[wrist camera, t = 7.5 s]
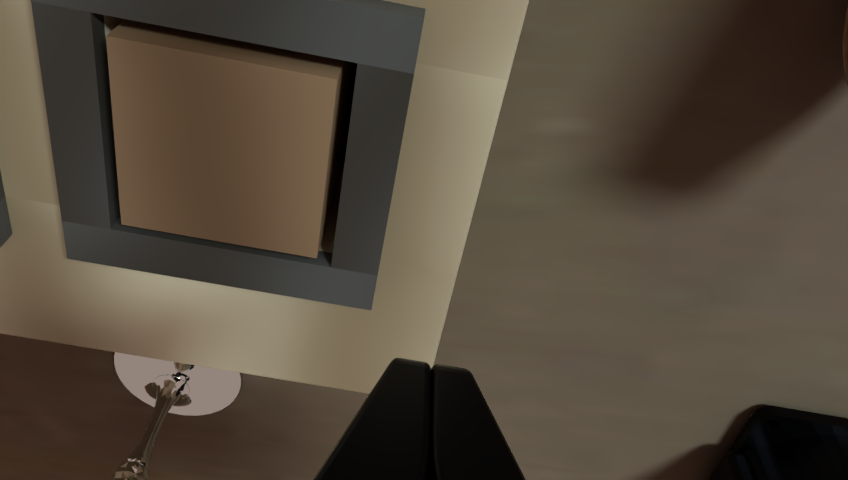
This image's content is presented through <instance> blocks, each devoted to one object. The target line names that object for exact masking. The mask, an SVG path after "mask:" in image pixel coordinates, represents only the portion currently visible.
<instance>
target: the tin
mask: <svg viewBox="0 0 848 480" xmlns="http://www.w3.org/2000/svg"><path fill="white" fill-rule="evenodd" d="M843 65H844V71H845V77H846V80H847V83H848V6H847V10H846V16H845V24H844V32H843Z"/></svg>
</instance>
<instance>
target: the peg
mask: <svg viewBox="0 0 848 480" xmlns="http://www.w3.org/2000/svg"><path fill="white" fill-rule="evenodd" d="M106 43H107V55H108V67H109V79H110V92H111V104H112V116H113V128H114V141H115V153H116V165H117V177H118V189H119V202H120V214H121V225H127V226H133V227H139V228H144V229H150V230H156V231H162V232H167V233H173V234H179V235H185V236H190V237H196V238H202V239H208V240H214V241H219V242H225V243H231V244H237V245H242V246H248V247H254V248H260V249H265V250H271V251H277V252H283V253H288V254H294V255H300V256H306V257H311V258H317V256H318V252H319V249H320V245H321V242H322V238H323V235H324V231H325V228H326V225H327V221H328V218H329V214H330V211H331V207H332V204H333V200H334V197H335V193H336V190H337V186H338V183H339V179H340V176H341V172H342V169H343V166H344V162H345V156H346V148H347V140H348V133H349V125H350V118H351V110H352V102H353V95H354V87H355V79H356V72H357V64H358V63H354V62H349V61H343V60H338V59H333V58H328V57H322V56H317V55H312V54H307V53H301V52H296V51H291V50H286V49H280V48H275V47H270V46H265V45H259V44H254V43H249V42H244V41H238V40H233V39H228V38H223V37H217V36H212V35H207V34H201V33H196V32H191V31H186V30H180V29H175V28H170V27H165V26H159V25H154V24H149V23H144V22H138V21H133V20H128V19H125V20H124V21H123V22H121V23H120V24H119V25H118V26H117V27H116V28H114V29H113V30H112V31H111V32H110V33H109V34H108V35H106Z"/></svg>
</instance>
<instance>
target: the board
mask: <svg viewBox="0 0 848 480" xmlns="http://www.w3.org/2000/svg"><path fill="white" fill-rule="evenodd" d="M528 3H529V0H0V333H1V334H7V335H13V336H19V337H25V338H31V339H37V340H44V341H50V342H56V343H62V344H68V345H74V346H80V347H86V348H93V349H99V350H105V351H111V352H117V353H123V354H129V355H135V356H141V357H148V358H154V359H160V360H166V361H172V362H178V363H184V364H190V365H197V366H203V367H209V368H215V369H221V370H227V371H233V372H239V373H246V374H252V375H258V376H264V377H270V378H276V379H282V380H288V381H295V382H301V383H307V384H313V385H319V386H325V387H331V388H337V389H344V390H350V391H356V392H362V393H368V394H370V393H371V391H372V389H373V388H374V386H375V385H376V383H377V382H378V380H379V379H380V377H381V376H382V374H383V373H384V371H385V370H386V368H387V367H388V365H389V364H390V362H391V361H392V360H393V359H395V358H404V359H410V360H416V361H422V362H426V363H428V364H429V365H430V368H432V367H433V364H434V360H435V356H436V352H437V349H438V345H439V341H440V337H441V333H442V329H443V326H444V322H445V318H446V314H447V310H448V307H449V303H450V299H451V295H452V291H453V288H454V284H455V280H456V276H457V272H458V269H459V265H460V261H461V257H462V253H463V250H464V246H465V242H466V238H467V234H468V231H469V227H470V223H471V219H472V215H473V212H474V208H475V204H476V200H477V196H478V193H479V189H480V185H481V181H482V177H483V174H484V170H485V166H486V162H487V158H488V155H489V151H490V147H491V143H492V139H493V136H494V132H495V128H496V124H497V120H498V117H499V113H500V109H501V105H502V101H503V98H504V94H505V90H506V86H507V82H508V79H509V75H510V71H511V67H512V63H513V60H514V56H515V52H516V48H517V44H518V41H519V37H520V33H521V29H522V25H523V22H524V18H525V14H526V10H527V6H528ZM125 19H128V20H133V21H138V22H144V23H149V24H154V25H159V26H165V27H170V28H175V29H180V30H186V31H191V32H196V33H201V34H207V35H212V36H217V37H223V38H228V39H233V40H238V41H244V42H249V43H254V44H259V45H265V46H270V47H275V48H280V49H286V50H291V51H296V52H301V53H307V54H312V55H317V56H322V57H328V58H333V59H338V60H343V61H349V62H354V63H358V64H357V72H356V79H355V87H354V95H353V102H352V110H351V118H350V125H349V133H348V140H347V148H346V156H345V162H344V166H343V169H342V172H341V176H340V179H339V183H338V186H337V190H336V193H335V197H334V200H333V204H332V207H331V211H330V214H329V218H328V221H327V225H326V228H325V231H324V235H323V238H322V242H321V245H320V249H319V252H318V256H317V258H311V257H306V256H300V255H294V254H288V253H283V252H277V251H271V250H265V249H260V248H254V247H248V246H242V245H237V244H231V243H225V242H219V241H214V240H208V239H202V238H196V237H190V236H185V235H179V234H173V233H167V232H162V231H156V230H150V229H144V228H139V227H133V226H127V225H121V214H120V202H119V189H118V177H117V165H116V153H115V141H114V128H113V116H112V104H111V92H110V79H109V67H108V55H107V43H106V35H108V34H109V33H110V32H111V31H112V30H113V29H114V28H116V27H117V26H118V25H119V24H120V23H121V22H123V21H124V20H125Z"/></svg>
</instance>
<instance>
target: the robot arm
mask: <svg viewBox="0 0 848 480" xmlns="http://www.w3.org/2000/svg"><path fill="white" fill-rule="evenodd" d="M313 480H525V478H524V476H523V474H522V472H521V470H520V468H519V466H518V464H517V462H516V460H515V458H514V456H513V454H512V452H511V450H510V448H509V446H508V444H507V442H506V440H505V438H504V436H503V434H502V432H501V430H500V428H499V426H498V424H497V422H496V420H495V418H494V416H493V414H492V412H491V410H490V409H489V407H488V405H487V403H486V401H485V399H484V397H483V395H482V393H481V391H480V389H479V387H478V385H477V383H476V381H475V379H474V377H473V375H472V373H471V372H470V371H468V370H467V369H464V368H458V367H452V366H446V365H440V364H436V365H434V366H433V367H432V368H430V365H429V364H428V363H426V362H422V361H416V360H410V359H404V358H395V359H393V360H392V361H391V362H390V364H389V365H388V367H387V368H386V370H385V371H384V373H383V374H382V376H381V377H380V379H379V380H378V382H377V383H376V385H375V386H374V388H373V389H372V391H371V393H370V394H369V396H368V397H367V399H366V400H365V402H364V403H363V405H362V406H361V408H360V409H359V411H358V412H357V414H356V415H355V417H354V418H353V420H352V421H351V423H350V424H349V426H348V428H347V429H346V431H345V432H344V434H343V435H342V437H341V438H340V440H339V441H338V443H337V444H336V446H335V447H334V449H333V450H332V452H331V453H330V455H329V456H328V458H327V459H326V461H325V463H324V464H323V466H322V467H321V469H320V470H319V472H318V473H317V475H316V476H315V478H314V479H313ZM709 480H848V419H845V418H839V417H833V416H827V415H822V414H816V413H810V412H804V411H798V410H792V409H786V408H780V407H774V406H767V407H763V408H760V409H758V410H757V411H756V412H755V413H754V414H753V415H752V416H751V418H750V419H749V421H748V422H747V424H746V425H745V427H744V428H743V430H742V431H741V433H740V434H739V436H738V437H737V439H736V440H735V442H734V443H733V445H732V446H731V448H730V449H729V451H728V452H727V454H726V455H725V457H724V458H723V460H722V461H721V463H720V464H719V466H718V467H717V469H716V470H715V472H714V473H713V475H712V476H711V478H710V479H709Z"/></svg>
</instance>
